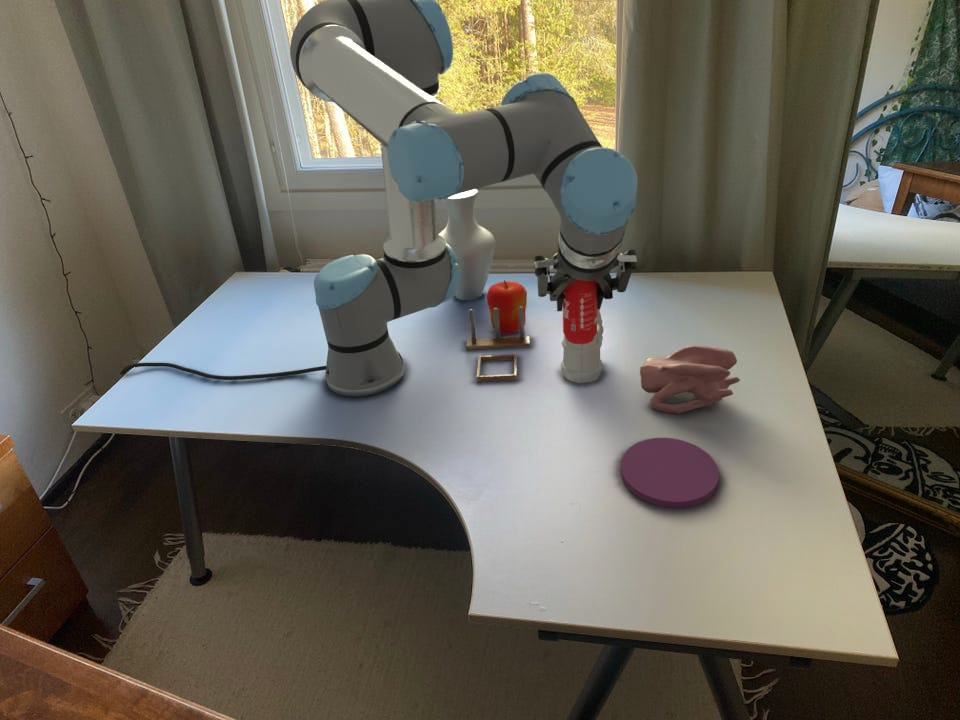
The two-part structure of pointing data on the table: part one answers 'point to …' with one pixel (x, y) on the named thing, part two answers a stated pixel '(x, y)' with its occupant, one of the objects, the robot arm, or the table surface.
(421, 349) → the table surface
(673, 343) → the table surface
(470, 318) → the rack
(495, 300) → the apple
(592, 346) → the mug
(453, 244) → the vase
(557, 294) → the robot arm
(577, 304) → the beverage can
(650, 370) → the figurine
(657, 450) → the lid
